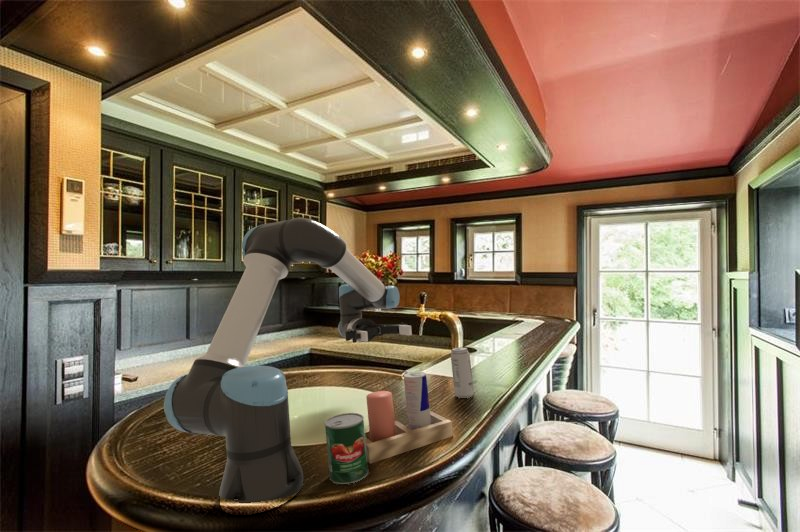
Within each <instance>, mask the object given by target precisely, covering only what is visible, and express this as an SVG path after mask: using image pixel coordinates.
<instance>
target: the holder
mask: <svg viewBox="0 0 800 532" xmlns="http://www.w3.org/2000/svg"><path fill="white" fill-rule="evenodd" d="M430 418H431V425H429V426H425V427H422V428H419V429H416V430H411V429H409V427H408V426H406V425H404V424H402V422H400V421H398V420H394V421H395V432H396V436H393V437H389V438H386V439H383V440H379V441H376V442H373V443H372V442H371V441H370V438H367V436H365V441H366V452H367V461H368V463H369V464H374V463H377V462H379V461H382V460H385V459H389V458H392V457H394V456H398V455H400V454H403V453H406V452H410V451H412V450H415V449H419V448H422V447H426V446H428V445H430V444H434V443H436V442H440V441H442V440H445V439H446V440H447V439H449V438H451V437H454V432H453V423H452V420H450V419H448V418H447V417H443V416H441V415H440V414H437V413H436V412H433V411H432V410H430Z"/></svg>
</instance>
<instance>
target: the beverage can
mask: <svg viewBox="0 0 800 532" xmlns="http://www.w3.org/2000/svg"><path fill="white" fill-rule="evenodd" d="M403 382H404V383H403V384H404V393H405V395H404V396H405V404H406V405H405V406H406V415H407V425H408V426H407V427H408V428H409V429H411V430H416V429H419V428H422V427H425V426H429V425H431V418H430V411H431V409H430V398H429V389H428V378H427V373H426V372H423V371H413V372H407V373H405V374H403Z"/></svg>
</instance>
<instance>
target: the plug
mask: <svg viewBox="0 0 800 532" xmlns="http://www.w3.org/2000/svg"><path fill="white" fill-rule="evenodd" d="M365 397H366V408H367V417H368V419H367V421H368V428H369V440H370V441H371V442H372V443H373V442H376V441H379V440H383V439H386V438H389V437H393V436H396V432H395V421H396V420H395V414H394V413H395V411H394V402H393V393H392V392H391V391H387V390H379V391H373V392H370V393H368V394H366V396H365Z"/></svg>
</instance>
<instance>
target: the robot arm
mask: <svg viewBox="0 0 800 532" xmlns="http://www.w3.org/2000/svg"><path fill="white" fill-rule="evenodd" d="M346 243H347V242H346V241H345V239H343V238H342V237H341V236H340V235H339V234H338V233H336V232H335V231H334V230H332V229H331V228H330V227H328V226H326V225H324V224H322V223H320V222H318V221H316V220H313V219H310V218H306V217H305V218H304V217H295V218H292V219H287V220H281V221H275V222H270V223H263V224H260V225H257V226H255V227H252V228H250V230H248V231H247V232H246V234H245V235H244V236H243V239H242V240H241V249H242V252H241V255H242V257H243V260H242V262H243V264H244V266H245V270H244V271H243V274H242V276H241V278H240V280H239V283H238V284H237V286H236V289H235V291H234V293H233V295H232V297H231V299H230V302H229V304H228V305H227V309H226V311H225V312H224V314H223V316H222V319H221V320H220V323H219V326H218V328H217V330H216V331H215V333H214V336H213V338H212V340H211V343H210V344H209V346H208V349H207V351H206V353H205V354H203V355H202V356H199V357H197V358H195V360H194V361H193V363H192V365H191V367H190V369H189V371H188V373H187V374H186V373H185V374H183V375H181V376H180V377H179V378H176V379H175V380H174V381H173V382H172V383H171V384H170V385H169V387H168V389H167V390H166V393H165V396H164V401H163V410H164V414H165V416H166V417H165V418H166V420H167V422H168V423H169V425H171V426H172V427H173V428H174V429H176V430H177V431H180V432H185V433H186V434H187V433H188V434H191V435H209V436H218V437H225V448H226V463H225V467H224V471H223V474H222V475H223V476H222V480H221V484H220V488H219V491H218V492H219V493H218V497H219V496H220V497H221V498H224V499H228V500H232V501H235V502H239V503H251V502H261V501H266V500H273V499H279V498H284V497H287V496H291V495H293V494H295V493H297V492H298V491H299V490H300V489H301V487H302V485H303V486H304V484H303V481H304V471H303V468H302V465H301V464H300V461H299V459H298V457H297V453H296V452H295V449H294V447H293V445H292V437H291V425H290V424H291V422H290V407H289V405H290V404H289V391H288V389H289V388H288V386H287V379H286V375H285V374H284V372H283V371H282V370H281V369H279V368H277V367H275V366H269V365H268V366H267V365H254V366H253V365H246V364H247V361H248V358H249V356H250V354H251V351H252V349H253V347H254V343H255V341H256V338H257V336H258V333H259V331H260V328H261V326H262V323H263V321H264V319H265V316H266V313H267V311H268V308H269V306H270V303H271V301H272V298H273V295H274V293H275V291H276V288H277V286H278V283H279V281H280V280H282V279H285V278H286V277H287V276H288V274H289V272H290V269H291V266H292V265H293V264H298V263H299V264H300V263H305V262H307V263H308V262H309V263H314V264H317V265H318V266H319V267H321V268H323V269H329V270H330V271H331V272H333V273H334V274H335V275H336V276H338V277H339V278H340V279H341V280H343V281H344V282H345V283H346V284H341V285H340V286H339V287H338V300H339V301H338V302H339V313H340V321H339V322H338V325H337V329H338V333H339V335H340V336H341V337H343V338H345V341H346V342H349V341H351V340H352V343H353V344H355V343H357V342H358V343H359V344H360V343H369V342H371V341H373V340H374V338H375V337H380V336H381V337H383V336H385V335H391V334H392V335H393V334H394V335H395V334H396V335H397V334H399V335H402V336H413V333H412V332H413V331H412V325H408V323H404V322H400V323H399V324H386V323H385V324H383V323H382V324H376V323H375V322H374V321H373V320H372V319H370V318H363V312H362V311H368V310H384V309H385V310H388V309H393V308H396V307H398V306H399V304H400V299H401V298H400V297H401V296H400V291H399V289H398V287H397V286H395V285H387V286H386V285H385V284H384V283H383V282H382V281H381V280H380V279H379V278H378V277H377V276H376V275H375V274H374V273H373V272H372V271H371V270H369V269H368V267H366V266H365V265H364V264H363V263H362V262H361V260H360V259H358V258H357V257H356V256H355V255H354V254H353V252H351V251H350V250H349V249H348V247H347V244H346ZM302 488H303V487H302ZM301 490H302V489H301ZM234 499H238V500H234Z"/></svg>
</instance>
